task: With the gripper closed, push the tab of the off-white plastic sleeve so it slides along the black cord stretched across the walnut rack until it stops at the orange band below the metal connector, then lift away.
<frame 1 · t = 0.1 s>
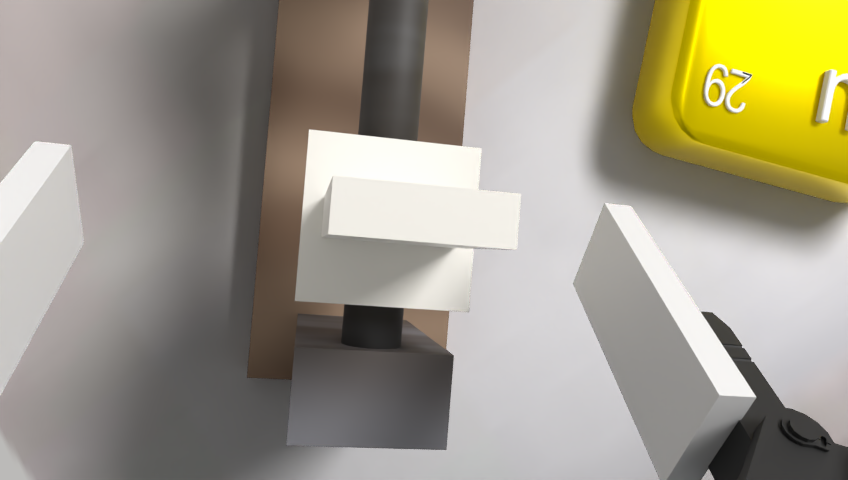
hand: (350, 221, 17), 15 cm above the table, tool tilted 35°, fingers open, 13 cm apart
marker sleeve: (392, 222, 19), point 13 cm above the table, slide at 0.0 cm
cord rack: (365, 128, 32), on the table
element tile: (769, 49, 37), on the table
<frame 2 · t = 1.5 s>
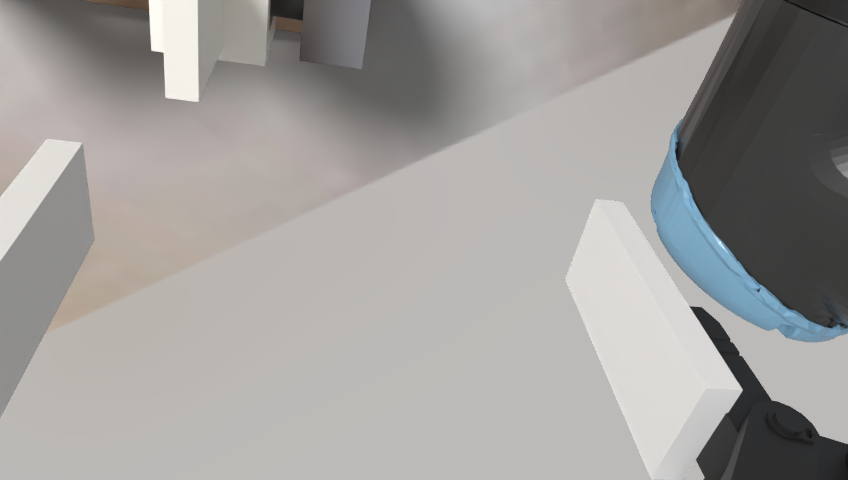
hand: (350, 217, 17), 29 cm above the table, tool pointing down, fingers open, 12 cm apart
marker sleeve: (207, 3, 28), point 13 cm above the table, slide at 0.0 cm
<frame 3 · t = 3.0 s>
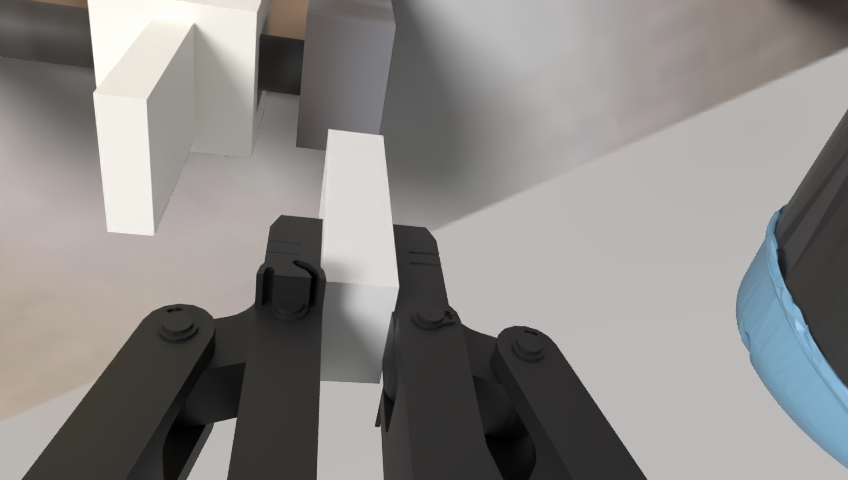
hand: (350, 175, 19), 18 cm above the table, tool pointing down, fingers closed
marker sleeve: (173, 84, 21), point 13 cm above the table, slide at 0.0 cm
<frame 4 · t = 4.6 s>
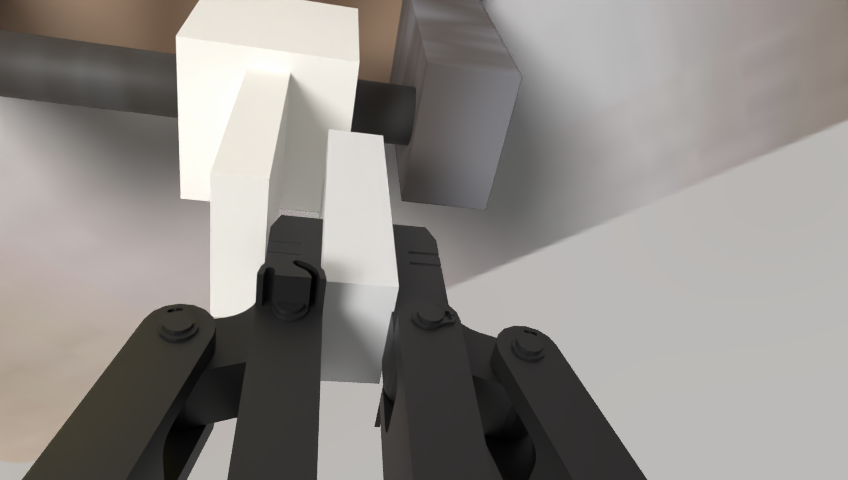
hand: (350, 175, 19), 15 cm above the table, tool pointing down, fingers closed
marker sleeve: (264, 139, 20), point 13 cm above the table, slide at 0.6 cm, touching gripper
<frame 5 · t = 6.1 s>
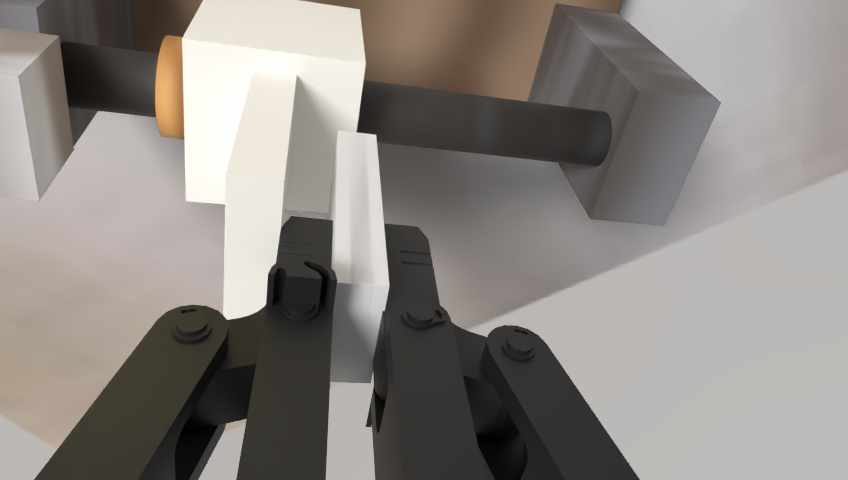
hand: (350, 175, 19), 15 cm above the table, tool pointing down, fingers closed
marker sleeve: (270, 141, 20), point 13 cm above the table, slide at 7.5 cm, touching cord rack, gripper
cord rack: (347, 18, 31), on the table
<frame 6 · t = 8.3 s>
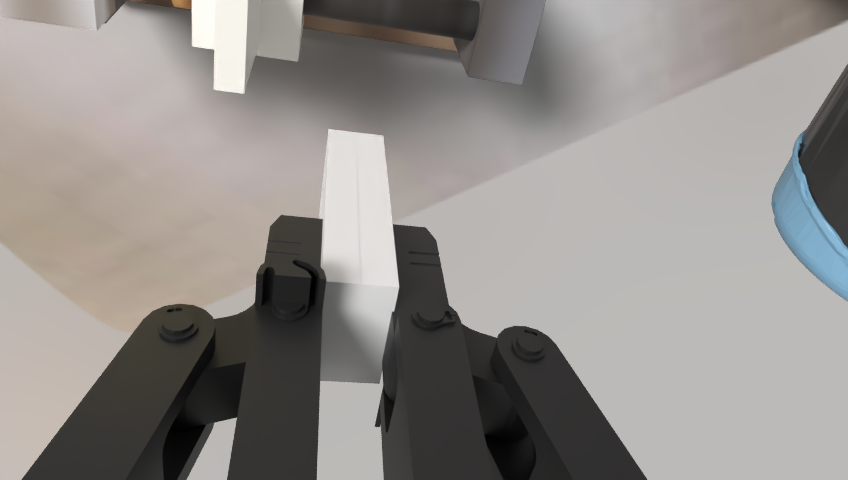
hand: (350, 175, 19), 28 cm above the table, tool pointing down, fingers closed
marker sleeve: (246, 2, 30), point 13 cm above the table, slide at 7.3 cm
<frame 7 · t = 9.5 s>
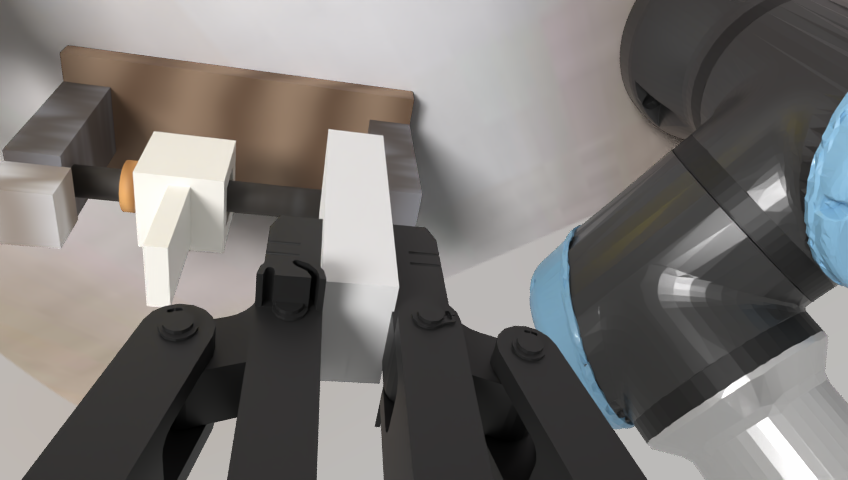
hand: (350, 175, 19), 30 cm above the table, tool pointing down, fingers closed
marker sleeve: (178, 218, 39), point 13 cm above the table, slide at 7.3 cm
cord rack: (246, 126, 50), on the table
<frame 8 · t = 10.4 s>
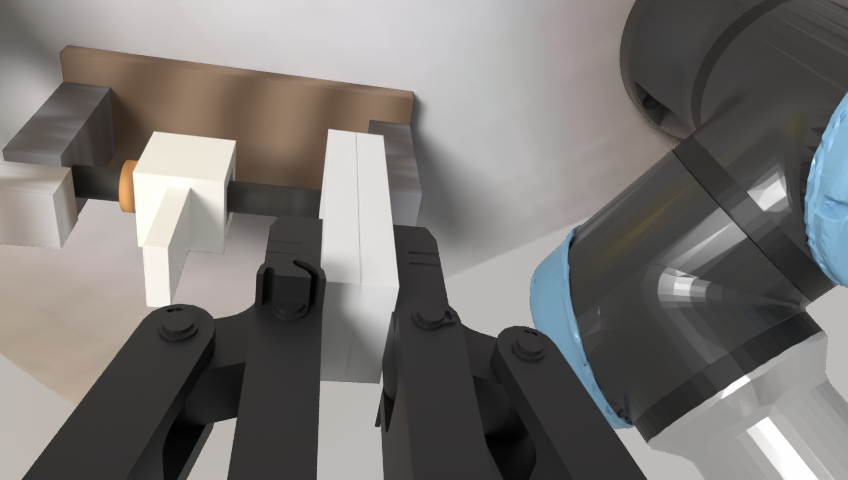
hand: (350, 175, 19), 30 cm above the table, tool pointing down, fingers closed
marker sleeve: (178, 218, 39), point 13 cm above the table, slide at 7.3 cm
cord rack: (246, 126, 50), on the table
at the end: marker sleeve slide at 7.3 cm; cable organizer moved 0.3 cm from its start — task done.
